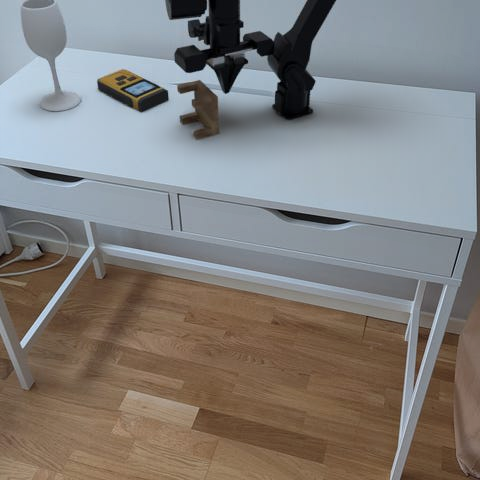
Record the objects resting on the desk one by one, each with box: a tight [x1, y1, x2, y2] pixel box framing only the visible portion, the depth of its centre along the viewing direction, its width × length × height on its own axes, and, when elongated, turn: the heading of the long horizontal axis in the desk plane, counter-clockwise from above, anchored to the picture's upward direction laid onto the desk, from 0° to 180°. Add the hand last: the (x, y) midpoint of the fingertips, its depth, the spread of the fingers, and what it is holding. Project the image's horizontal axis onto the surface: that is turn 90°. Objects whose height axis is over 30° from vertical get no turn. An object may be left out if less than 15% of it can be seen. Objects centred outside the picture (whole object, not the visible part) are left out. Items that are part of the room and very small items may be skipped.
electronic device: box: [96, 68, 170, 113], centre depth 129 cm, size 8×16×3 cm, turn 46°
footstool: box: [176, 79, 220, 141], centre depth 116 cm, size 5×8×8 cm, turn 28°
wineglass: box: [20, 0, 82, 112], centre depth 120 cm, size 9×9×21 cm
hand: (225, 92), depth 117 cm, fingers closed
